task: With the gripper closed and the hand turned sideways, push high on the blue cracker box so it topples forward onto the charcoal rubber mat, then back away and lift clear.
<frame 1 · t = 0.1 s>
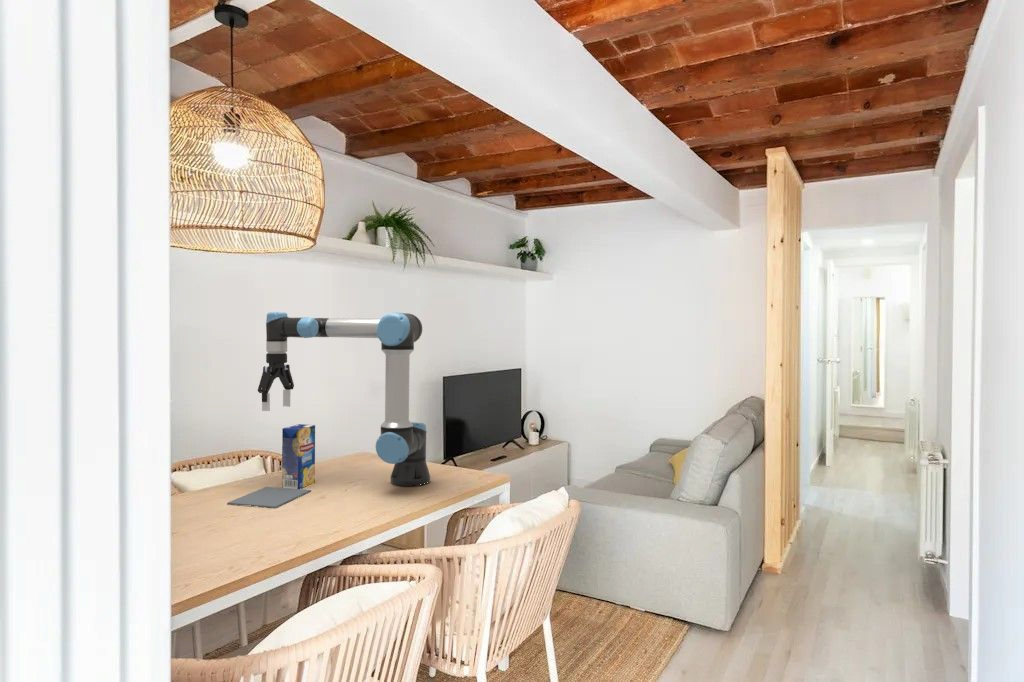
hand: (276, 408, 245), 28 cm above the table, tool pointing down, fingers open, 13 cm apart
blue cracker box: (298, 485, 240), on the table
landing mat: (270, 497, 223), on the table
condiment: (291, 467, 272), on the table
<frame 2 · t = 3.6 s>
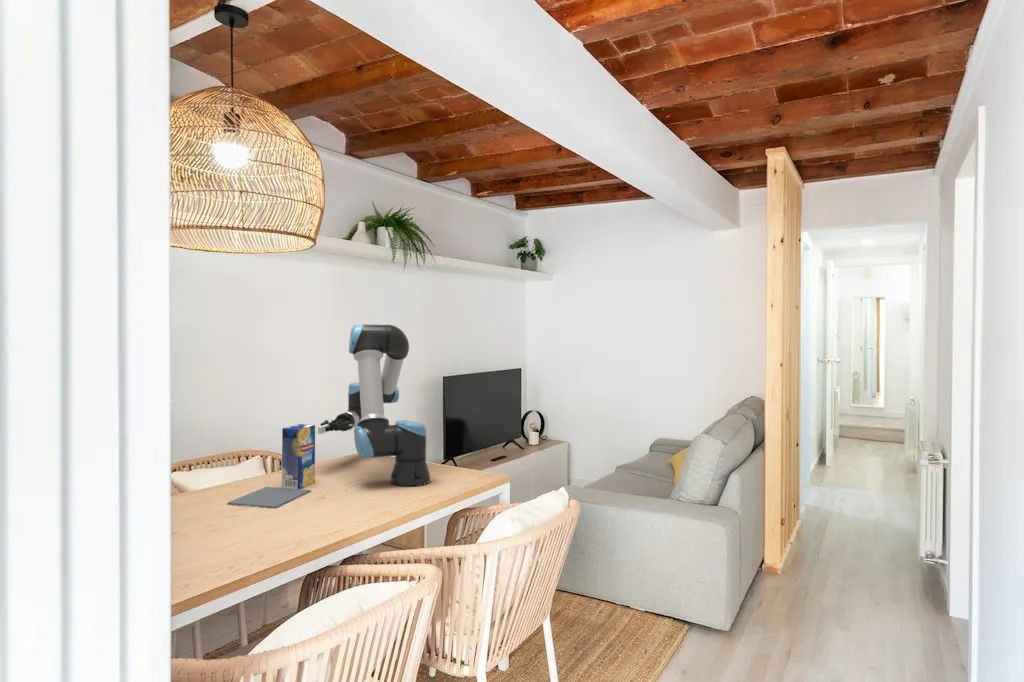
hand: (319, 430, 254), 18 cm above the table, tool horizontal, fingers closed
nothing on the table moved.
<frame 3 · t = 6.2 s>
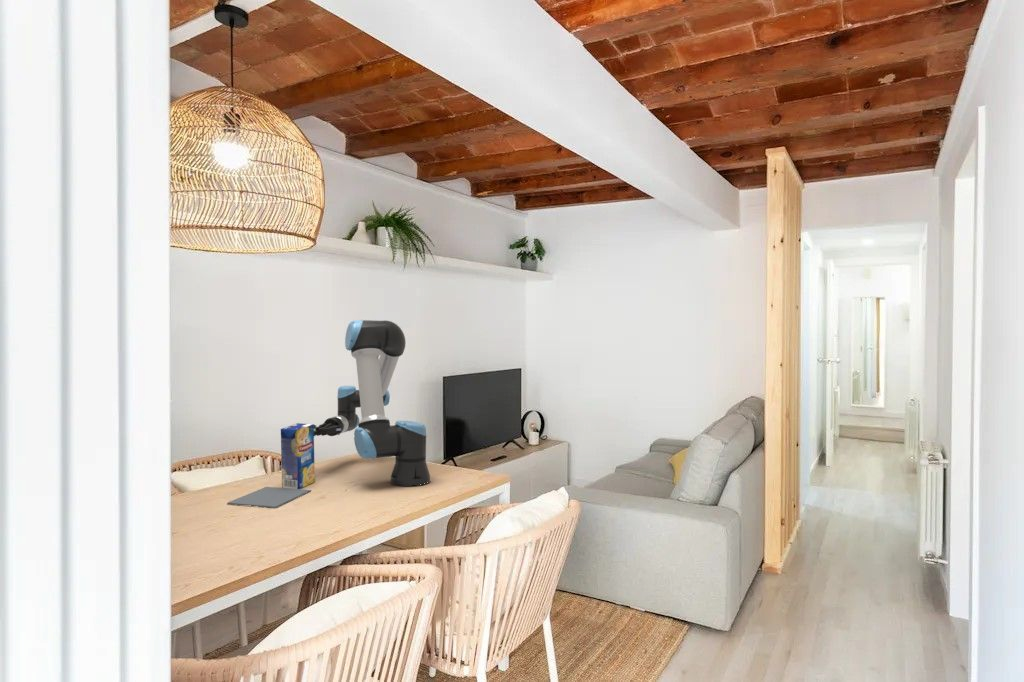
hand: (305, 435, 245), 18 cm above the table, tool horizontal, fingers closed
blue cracker box: (298, 485, 240), on the table, touching gripper
everything else where it was.
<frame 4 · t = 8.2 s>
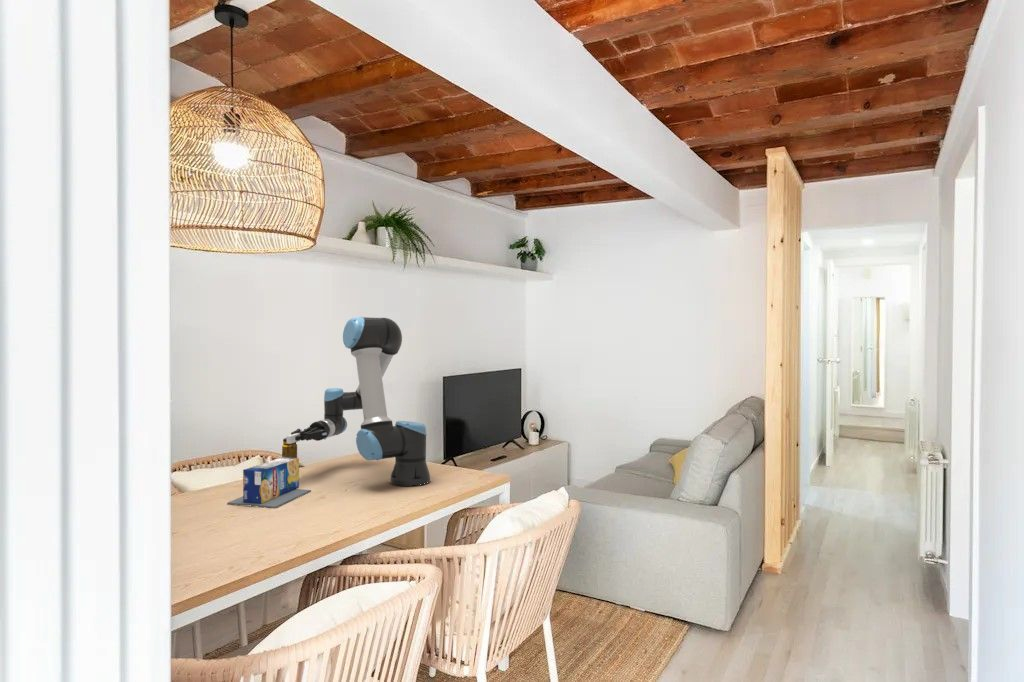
hand: (288, 439, 234), 18 cm above the table, tool horizontal, fingers closed
blue cracker box: (290, 472, 235), point 6 cm above the table, touching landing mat
everything else where it was.
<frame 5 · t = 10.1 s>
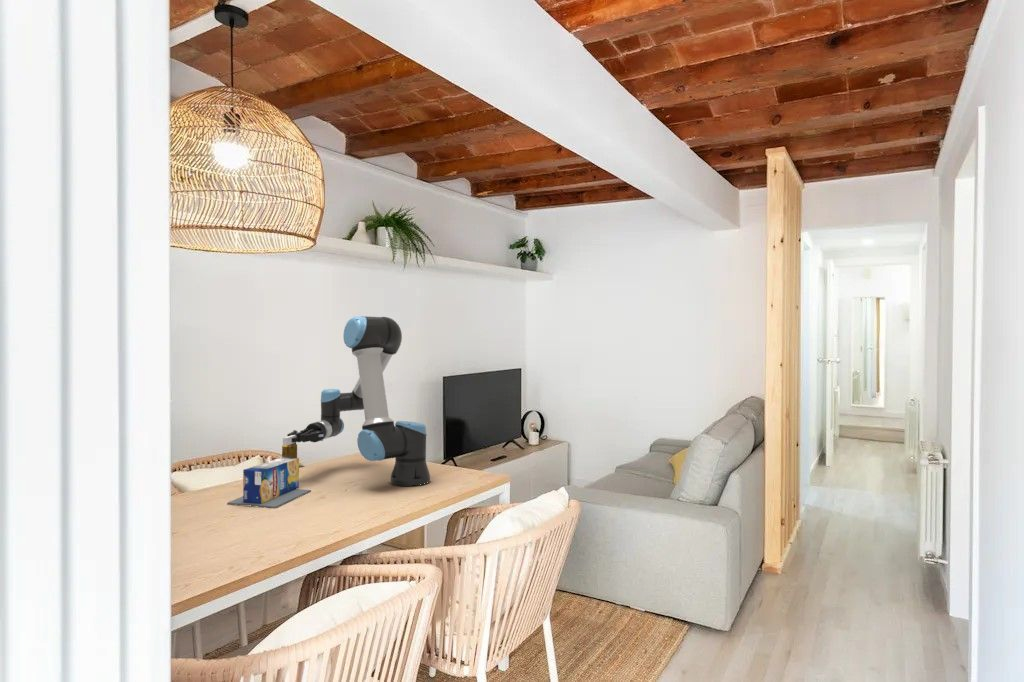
hand: (284, 441, 230), 18 cm above the table, tool horizontal, fingers closed
nothing on the table moved.
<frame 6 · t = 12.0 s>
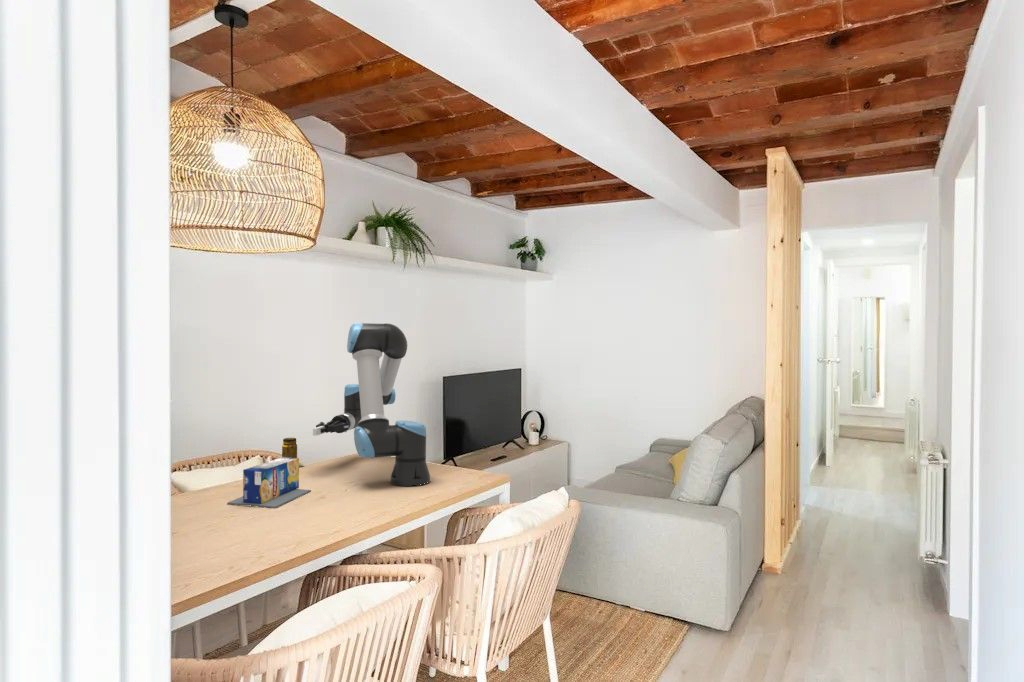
hand: (314, 432, 251), 18 cm above the table, tool horizontal, fingers closed
nothing on the table moved.
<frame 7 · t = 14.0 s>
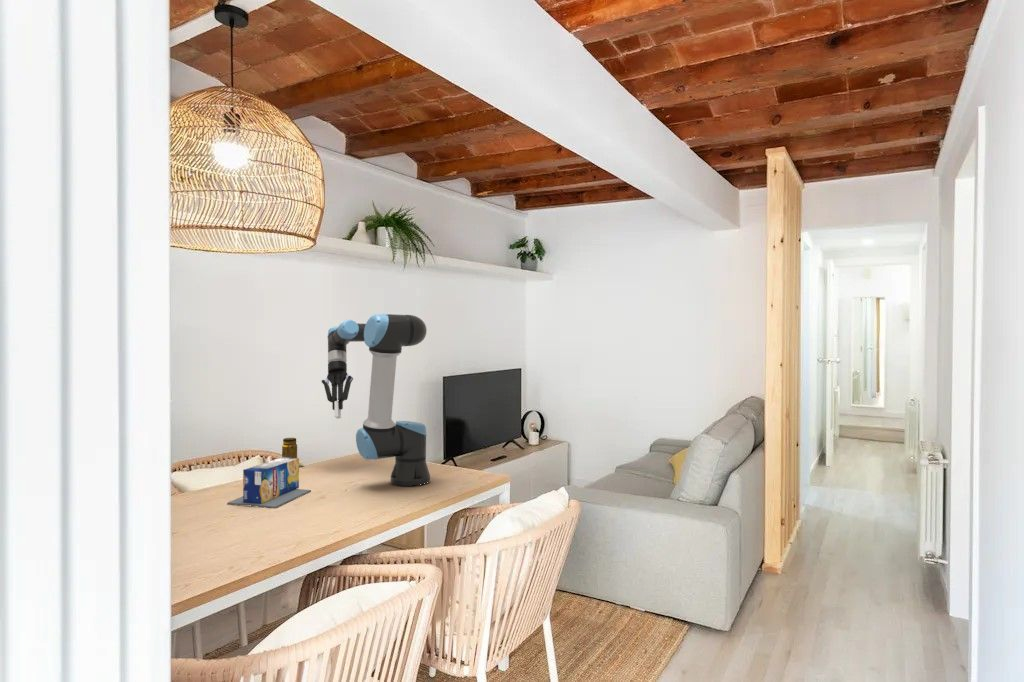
hand: (337, 417, 258), 23 cm above the table, tool tilted 25°, fingers closed
nothing on the table moved.
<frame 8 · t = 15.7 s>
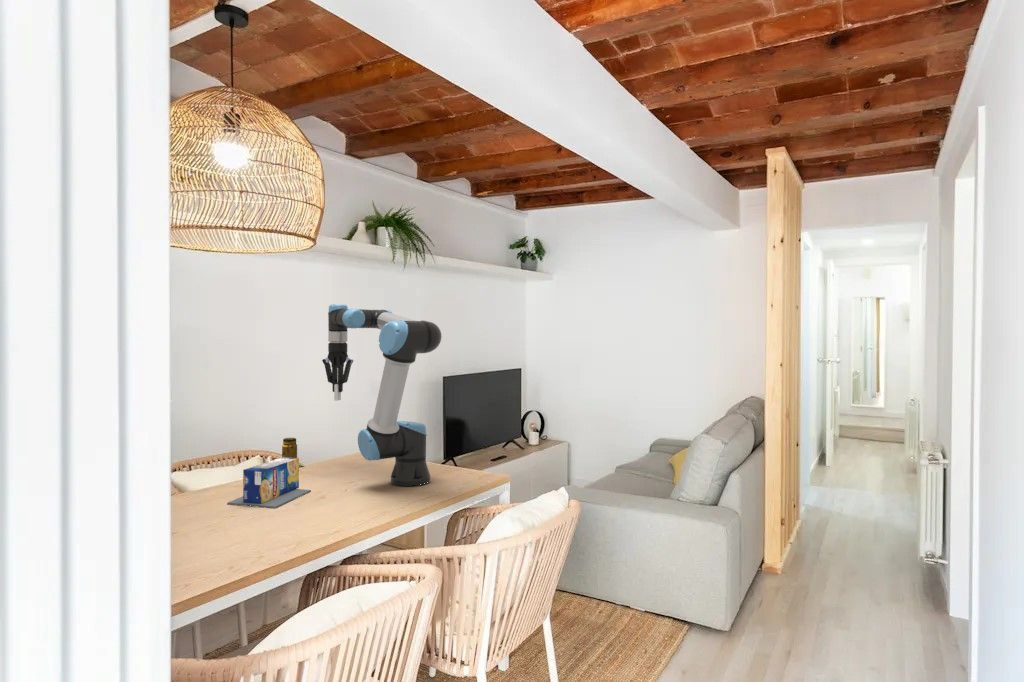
hand: (337, 400, 262), 29 cm above the table, tool pointing down, fingers closed
nothing on the table moved.
at the end: blue cracker box tilted 90°; blue cracker box touching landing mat; blue cracker box inside the target area (1.3 cm from its centre), point 6.1 cm above the table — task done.
